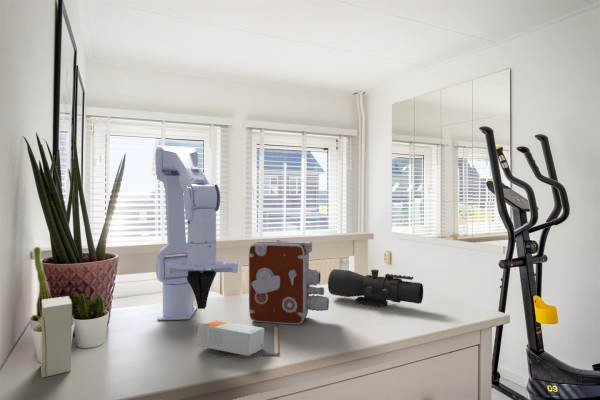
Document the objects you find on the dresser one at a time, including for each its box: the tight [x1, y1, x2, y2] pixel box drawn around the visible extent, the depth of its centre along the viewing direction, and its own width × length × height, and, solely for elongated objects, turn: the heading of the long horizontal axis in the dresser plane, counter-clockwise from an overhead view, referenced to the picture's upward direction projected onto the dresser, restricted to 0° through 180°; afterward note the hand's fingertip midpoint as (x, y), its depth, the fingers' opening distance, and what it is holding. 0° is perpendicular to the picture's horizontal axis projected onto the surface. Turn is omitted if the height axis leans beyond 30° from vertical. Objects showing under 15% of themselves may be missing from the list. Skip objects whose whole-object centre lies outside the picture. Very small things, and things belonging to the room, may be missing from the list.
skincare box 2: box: [196, 319, 264, 356], centre depth 71 cm, size 6×4×12 cm
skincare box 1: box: [40, 295, 73, 378], centre depth 64 cm, size 6×4×12 cm
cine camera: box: [248, 239, 330, 325], centre depth 89 cm, size 9×19×20 cm, turn 78°
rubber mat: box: [215, 326, 280, 359], centre depth 76 cm, size 14×12×1 cm
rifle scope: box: [327, 268, 424, 309], centre depth 102 cm, size 10×26×10 cm, turn 58°
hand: (202, 307), depth 74 cm, fingers closed
